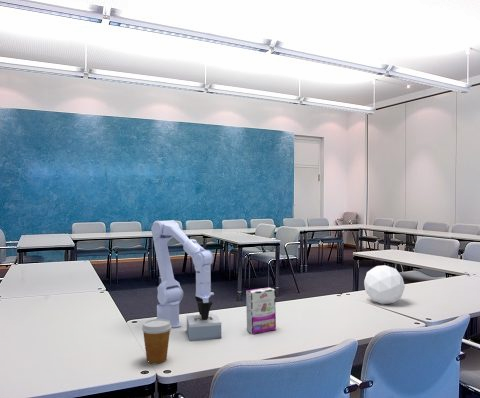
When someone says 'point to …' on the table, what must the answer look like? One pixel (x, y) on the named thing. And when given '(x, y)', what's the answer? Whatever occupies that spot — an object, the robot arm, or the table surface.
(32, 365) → the table surface
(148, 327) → the disposable coffee cup
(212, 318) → the coin box
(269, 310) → the candy bar box
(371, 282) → the polyhedron
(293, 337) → the table surface
